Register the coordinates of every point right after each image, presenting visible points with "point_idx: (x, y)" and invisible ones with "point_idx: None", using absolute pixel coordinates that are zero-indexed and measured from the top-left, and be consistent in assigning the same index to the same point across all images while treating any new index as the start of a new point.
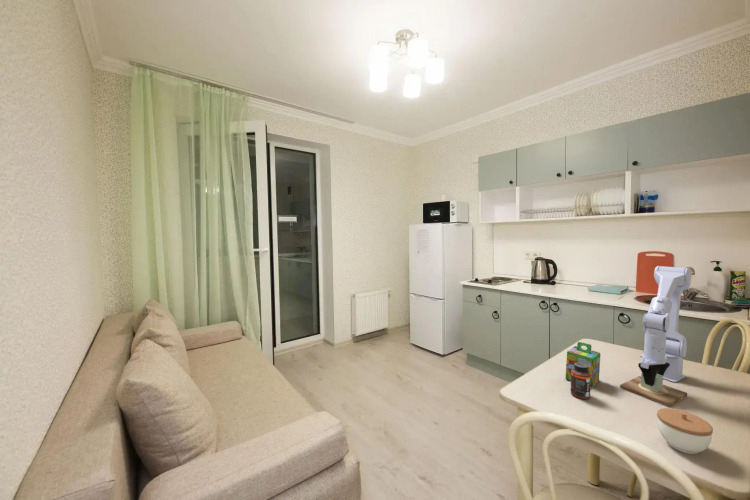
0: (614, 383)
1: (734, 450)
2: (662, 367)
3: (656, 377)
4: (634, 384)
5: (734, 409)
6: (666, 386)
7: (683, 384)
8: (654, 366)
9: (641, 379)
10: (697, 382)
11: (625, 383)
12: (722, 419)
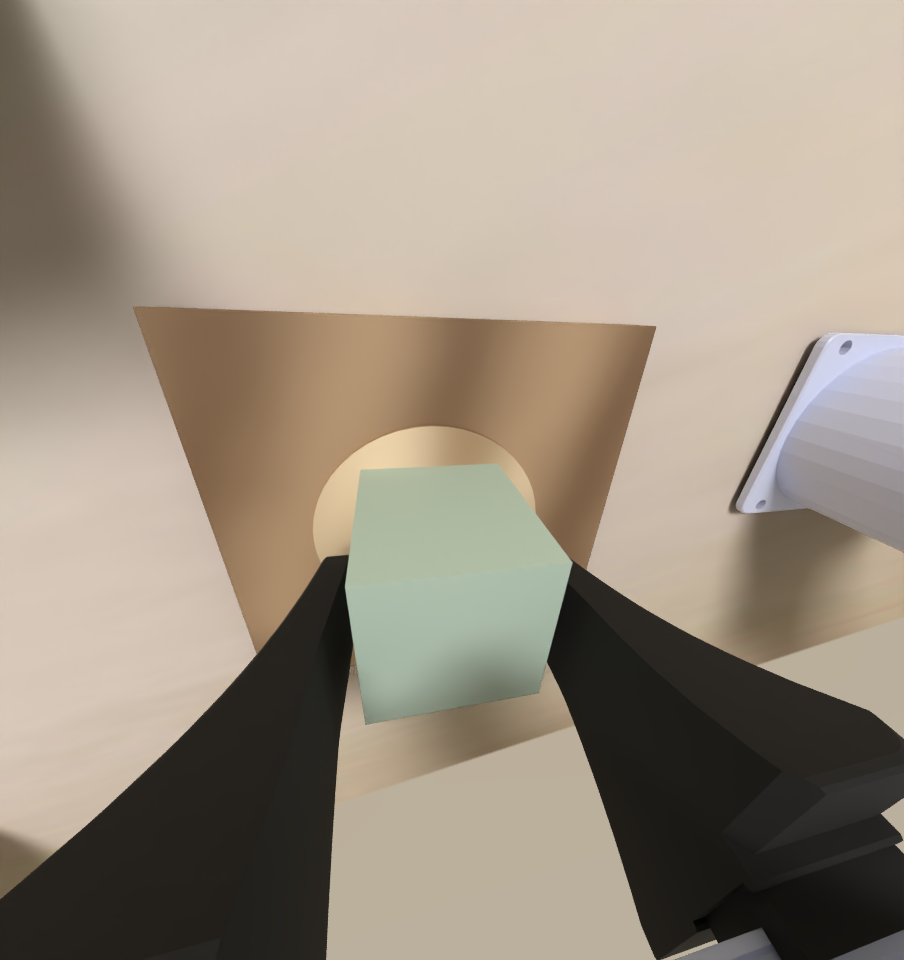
0: (216, 181)
1: None
2: (629, 816)
3: (399, 708)
4: (357, 406)
5: (566, 714)
6: (576, 548)
7: (735, 536)
8: (641, 723)
9: (354, 521)
10: (812, 552)
11: (265, 332)
12: (411, 746)
